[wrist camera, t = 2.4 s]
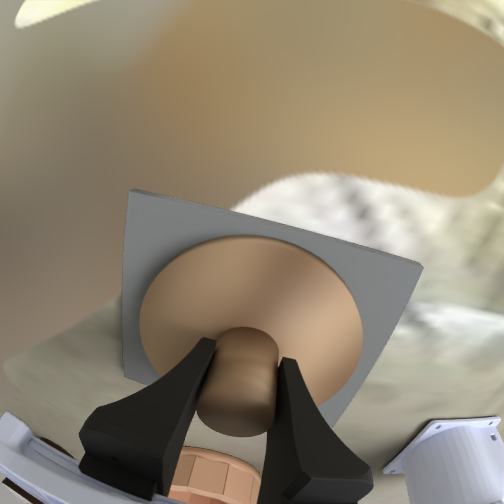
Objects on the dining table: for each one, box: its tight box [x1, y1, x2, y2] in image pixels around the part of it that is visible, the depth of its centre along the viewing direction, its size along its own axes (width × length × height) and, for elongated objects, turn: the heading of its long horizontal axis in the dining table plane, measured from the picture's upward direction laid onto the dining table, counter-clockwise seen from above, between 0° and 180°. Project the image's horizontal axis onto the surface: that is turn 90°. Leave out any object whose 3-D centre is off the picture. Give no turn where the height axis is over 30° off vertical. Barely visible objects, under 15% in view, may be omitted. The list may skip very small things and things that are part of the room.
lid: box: [139, 235, 363, 437], centre depth 13 cm, size 11×11×5 cm
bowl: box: [168, 446, 262, 504], centre depth 20 cm, size 10×10×4 cm
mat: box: [122, 189, 424, 427], centre depth 15 cm, size 14×12×1 cm
